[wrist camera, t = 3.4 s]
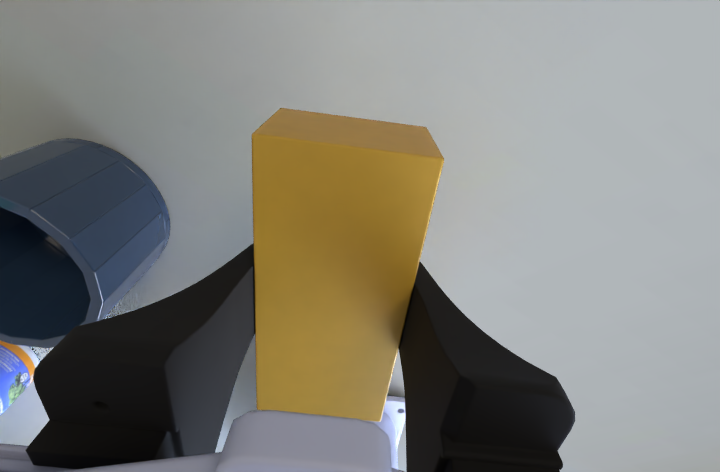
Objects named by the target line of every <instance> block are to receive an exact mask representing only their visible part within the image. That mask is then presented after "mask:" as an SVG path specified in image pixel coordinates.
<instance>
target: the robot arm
mask: <svg viewBox="0 0 720 472" xmlns="http://www.w3.org/2000/svg"><path fill="white" fill-rule="evenodd" d="M254 334H255V290H254V243H253V244H252V245H250V246H249V247H248V248H246V249H245V250H244V251H242V252H241V253H240V254H239V255H237V256H236V257H235V258H233V259H232V260H231V261H229V262H228V263H226V264H225V265H224V266H222V267H221V268H219V269H218V270H216V271H215V272H213V273H212V274H210V275H209V276H207V277H205V278H204V279H202V280H201V281H199V282H197V283H195V284H194V285H192V286H190V287H188V288H186V289H184V290H182V291H180V292H178V293H176V294H174V295H172V296H169V297H167V298H165V299H162V300H160V301H158V302H155V303H153V304H150V305H148V306H145V307H142V308H140V309H137V310H134V311H131V312H128V313H125V314H122V315H118V316H115V317H111V318H108V319H104V320H100V321H96V322H92V323H88V324H84V325H80V326H76V327H74V328H73V329H72V330H71V331H70V332H69V333H68V334H67V335H66V336H65V337H64V338H63V339H62V340H61V341H60V342H59V343H58V344H57V345H56V346H55V347H54V348H53V349H52V350H51V351H50V352H49V353H48V354H47V355H46V356H45V357H44V358H43V360H42V361H41V362H40V363H39V364H38V365H37V367H36V368H35V370H34V375H33V379H34V383H35V387H36V390H37V393H38V395H39V397H40V399H41V401H42V404H43V406H44V408H45V410H46V413H47V415H48V417H49V419H50V421H49V422H48V423H47V424H46V425H45V427H44V428H43V429H42V430H41V432H40V433H39V434H38V435H37V436H36V438H35V439H34V440H33V441H32V443H31V444H30V445H29V446H21V445H10V444H0V472H404V471H401V470H398V458H397V446H398V443H399V439H400V436H401V433H402V429H403V426H404V422H405V419H406V458H407V472H560V471H559V469H560V470H561V469H562V467H563V463H562V460H561V458H560V456H559V453H558V451H557V450H558V449H559V447H560V446H561V444H562V443H563V441H564V440H565V438H566V437H567V435H568V434H569V432H570V430H571V429H572V426H573V424H574V422H575V411H574V409H573V407H572V405H571V403H570V401H569V399H568V397H567V395H566V393H565V391H564V390H563V388H562V386H561V384H560V383H559V381H558V380H557V378H556V377H554V376H552V375H551V374H549V373H547V372H545V371H543V370H541V369H539V368H538V367H536V366H534V365H532V364H530V363H528V362H527V361H525V360H523V359H522V358H520V357H519V356H517V355H515V354H514V353H512V352H511V351H509V350H508V349H506V348H505V347H503V346H502V345H500V344H499V343H498V342H496V341H495V340H494V339H492V338H491V337H490V336H488V335H487V334H486V333H484V332H483V331H482V330H481V329H480V328H478V327H477V326H476V325H475V324H474V323H473V322H472V321H471V320H469V319H468V318H467V317H466V316H465V315H464V314H463V313H462V312H461V311H460V310H459V309H458V308H457V307H456V306H455V305H454V303H453V302H452V301H451V300H450V299H449V298H448V297H447V296H446V294H445V293H444V292H443V291H442V290H441V288H440V287H439V286H438V285H437V283H436V282H435V281H434V279H433V278H432V277H431V275H430V274H429V273H428V271H427V270H426V269H425V267H424V266H423V265H422V263H421V262H419V266H418V270H417V274H416V278H415V283H414V287H413V291H412V295H411V299H410V303H409V307H408V312H407V316H406V320H405V324H404V328H403V332H402V336H401V341H400V345H399V352H400V359H401V366H402V372H403V380H404V390H405V398H404V397H395V396H387V398H386V403H385V407H384V411H383V415H382V419H381V421H380V422H376V421H366V420H360V419H357V418H347V417H337V416H327V415H317V414H307V413H297V412H287V411H277V410H258V411H250V412H247V413H245V414H244V415H242V416H240V417H238V418H236V419H234V420H233V423H232V425H231V428H230V431H229V433H228V436H227V439H226V442H225V445H224V448H223V451H222V452H219V453H215V449H216V446H217V442H218V439H219V435H220V432H221V428H222V424H223V421H224V418H225V414H226V411H227V407H228V404H229V401H230V397H231V394H232V391H233V388H234V385H235V381H236V378H237V375H238V372H239V369H240V367H241V364H242V361H243V359H244V357H245V354H246V352H247V350H248V348H249V345H250V343H251V341H252V338H253V336H254Z"/></svg>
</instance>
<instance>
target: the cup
mask: <svg viewBox="0 0 720 472" xmlns="http://www.w3.org/2000/svg"><path fill="white" fill-rule="evenodd" d="M169 234H170V218H169V214H168V210H167V207H166V204H165V202H164V200H163V198H162V196H161V194H160V192H159V190H158V189H157V187H156V186H155V184H154V183H153V182H152V181H151V179H150V178H149V177H148V176H147V175H146V174H145V173H144V172H143V171H142V170H141V169H140V168H139V167H138V166H137V165H135V164H134V163H133V162H132V161H130V160H129V159H127V158H126V157H124V156H123V155H122V154H120V153H118V152H116V151H114V150H112V149H110V148H108V147H105V146H103V145H101V144H97V143H94V142H91V141H86V140H81V139H69V138H67V139H56V140H52V141H48V142H45V143H42V144H40V145H36V146H33V147H30V148H27V149H24V150H21V151H18V152H16V153H13V154H10V155H7V156H5V157H2V158H0V341H3V342H6V343H9V344H13V345H21V346H31V347H41V348H51V347H55V346H56V345H57V344H58V343H59V342H60V341H61V340H62V339H63V338H64V337H65V336H66V335H67V334H68V333H69V332H70V331H71V330H72V329H73V328H74V327H76V326H80V325H84V324H88V323H92V322H96V321H100V320H103V319H104V318H105V316H106V315H107V314H108V313H109V312H110V311H111V310H112V309H113V308H114V307H115V305H116V304H117V303H118V302H119V301H120V300H121V299H122V298H123V297H124V295H125V294H126V293H127V292H128V291H129V290H130V289H131V288H132V287H133V286H134V284H135V283H136V282H137V281H138V280H139V279H140V278H141V277H142V276H143V275H144V273H145V272H146V271H147V270H148V269H149V268H150V267H151V266H152V265H153V264H154V262H155V261H156V260H157V259H158V258H159V256H160V254H161V253H162V251H163V250H164V249H165V247H166V244H167V242H168V239H169Z"/></svg>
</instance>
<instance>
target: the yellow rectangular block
mask: <svg viewBox="0 0 720 472" xmlns="http://www.w3.org/2000/svg"><path fill="white" fill-rule="evenodd" d="M443 163H444V158H443V156H442V154H441V153H440V151H439V149H438V147H437V145H436V144H435V142H434V140H433V138H432V136H431V135H430V133H429V131H428V129H427V128H426V127H422V126H414V125H406V124H399V123H391V122H384V121H376V120H369V119H361V118H354V117H346V116H338V115H331V114H323V113H316V112H308V111H301V110H293V109H285V108H280V109H279V110H278V111H277V112H276V113H275V114H273V115H272V116H271V117H270V118H269V119H268V120H267V121H266V122H265V123H263V124H262V125H261V126H260V127H259V128H258V129H257V130H256V131H255V132H254V133H252V183H253V237H254V290H255V344H256V398H257V409H258V410H277V411H287V412H297V413H307V414H317V415H327V416H337V417H347V418H357V419H360V420H366V421H376V422H380V421H381V419H382V415H383V411H384V407H385V403H386V398H387V394H388V390H389V386H390V382H391V378H392V374H393V369H394V365H395V361H396V357H397V353H398V349H399V345H400V341H401V336H402V332H403V328H404V324H405V320H406V316H407V312H408V307H409V303H410V299H411V295H412V291H413V287H414V283H415V278H416V274H417V270H418V266H419V262H420V258H421V254H422V250H423V245H424V241H425V237H426V233H427V229H428V225H429V221H430V216H431V212H432V208H433V204H434V200H435V196H436V192H437V187H438V183H439V179H440V175H441V171H442V167H443Z"/></svg>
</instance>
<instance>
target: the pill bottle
mask: <svg viewBox="0 0 720 472" xmlns="http://www.w3.org/2000/svg"><path fill="white" fill-rule="evenodd" d="M38 364H39V360H38V358H37V356H36V354H35V353H34V351H33V350H32V349H31V348H30V347H29V346H21V345H13V344H9V343H6V342H3V341H0V415H1V414H2V413H3V412H4V411H5V410H6V409H7V408H8V407H9V406H10V405H11V404H12V403H13V402H14V401H15V399H16V398H17V397H18V396H19V395H20V394H21V393H22V392H23V391H24V390H25V389H26V388H27V387H28V386H29V385H30V384H31V383H32V381H33V380H34V379H33V375H34V370H35V368H36V367H37V365H38Z"/></svg>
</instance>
